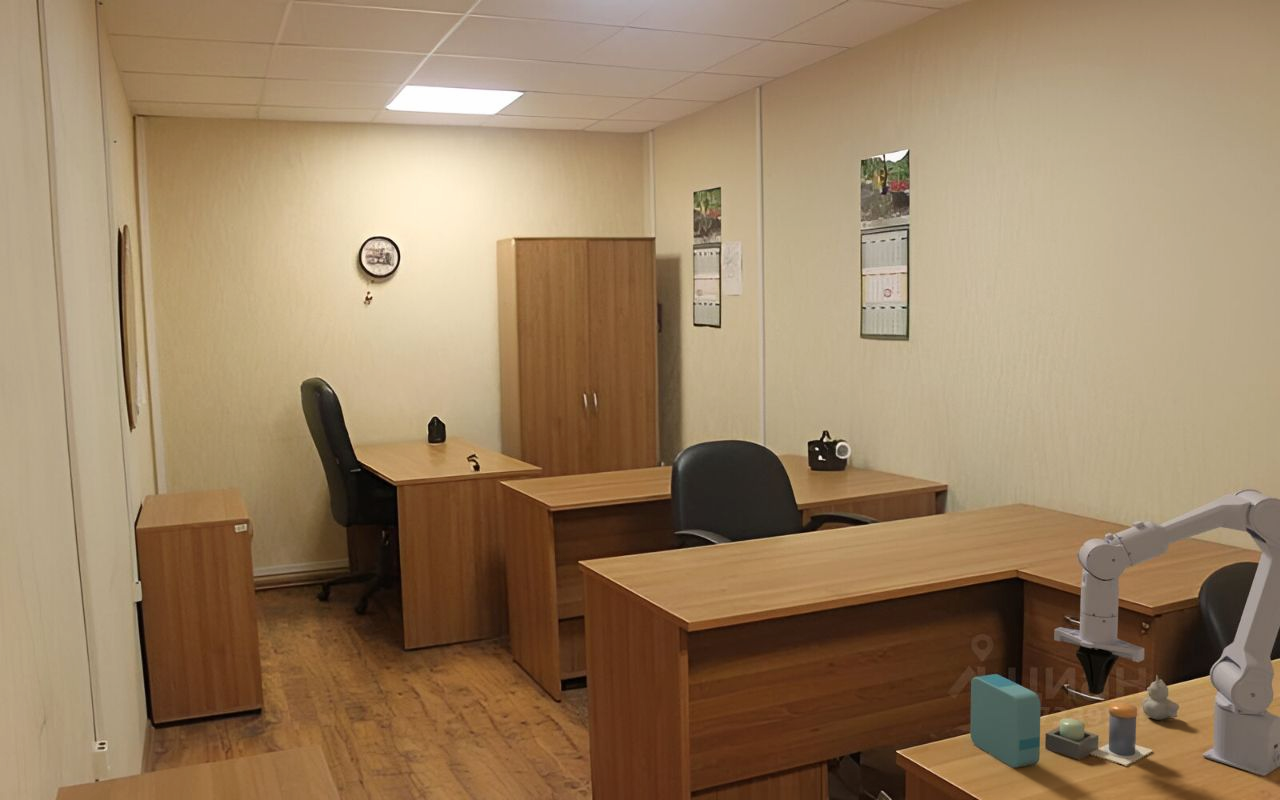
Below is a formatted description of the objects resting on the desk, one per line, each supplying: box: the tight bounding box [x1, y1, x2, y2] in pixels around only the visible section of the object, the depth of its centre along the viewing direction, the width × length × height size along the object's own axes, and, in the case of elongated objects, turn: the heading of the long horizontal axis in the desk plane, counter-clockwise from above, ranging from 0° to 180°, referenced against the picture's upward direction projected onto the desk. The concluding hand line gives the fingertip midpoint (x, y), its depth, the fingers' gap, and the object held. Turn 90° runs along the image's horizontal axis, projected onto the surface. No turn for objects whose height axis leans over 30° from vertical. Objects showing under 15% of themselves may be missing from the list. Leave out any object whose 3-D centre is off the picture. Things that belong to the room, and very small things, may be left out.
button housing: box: [1045, 726, 1099, 761], centre depth 172 cm, size 6×6×3 cm
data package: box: [970, 673, 1041, 769], centre depth 170 cm, size 12×4×12 cm, turn 20°
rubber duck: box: [1141, 675, 1180, 721], centre depth 184 cm, size 5×7×8 cm
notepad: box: [1089, 743, 1154, 767], centre depth 170 cm, size 6×9×1 cm, turn 127°
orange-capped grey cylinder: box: [1108, 701, 1138, 756], centre depth 170 cm, size 4×4×8 cm
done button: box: [1059, 717, 1086, 742], centre depth 172 cm, size 4×4×3 cm
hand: (1096, 692), depth 170 cm, fingers closed
